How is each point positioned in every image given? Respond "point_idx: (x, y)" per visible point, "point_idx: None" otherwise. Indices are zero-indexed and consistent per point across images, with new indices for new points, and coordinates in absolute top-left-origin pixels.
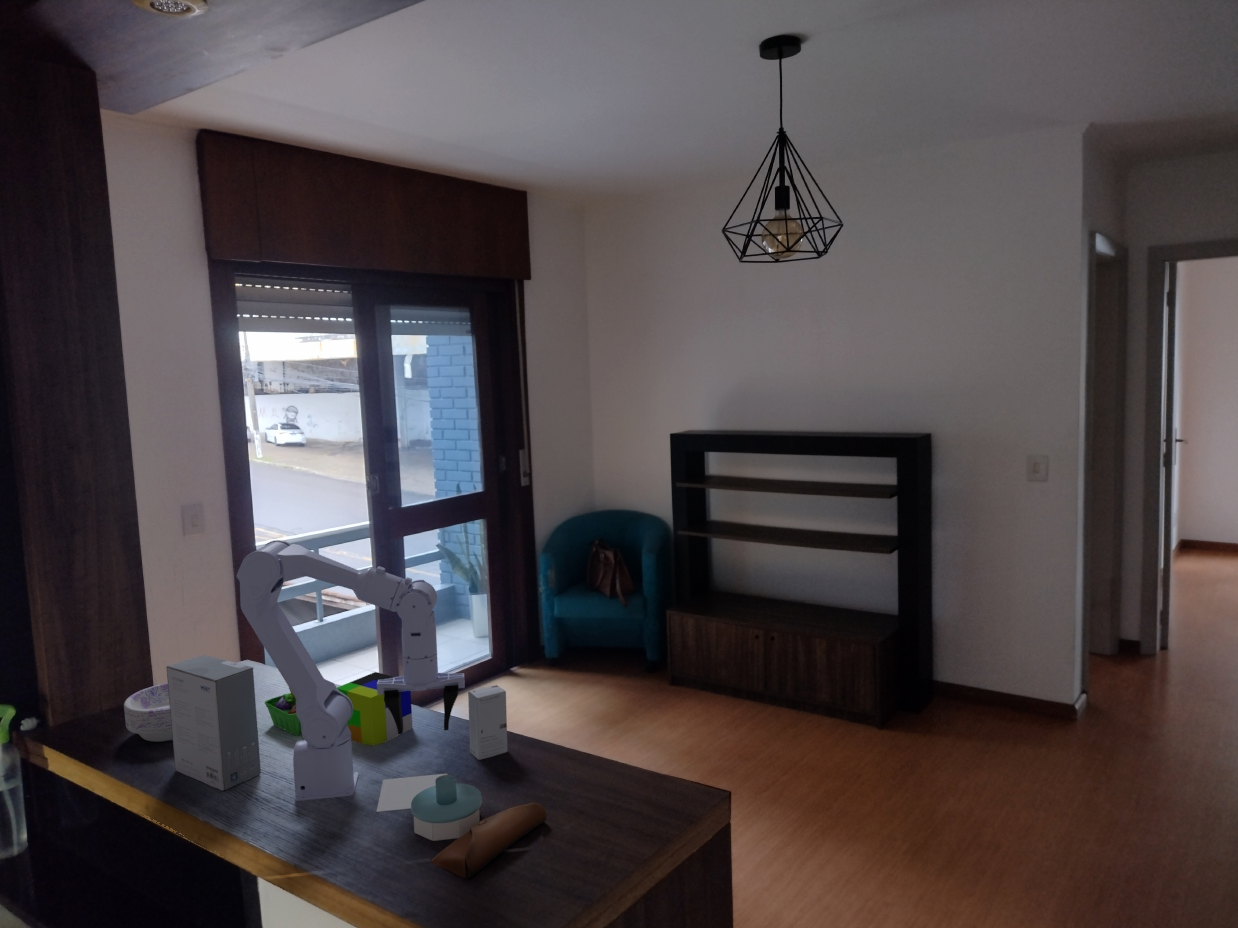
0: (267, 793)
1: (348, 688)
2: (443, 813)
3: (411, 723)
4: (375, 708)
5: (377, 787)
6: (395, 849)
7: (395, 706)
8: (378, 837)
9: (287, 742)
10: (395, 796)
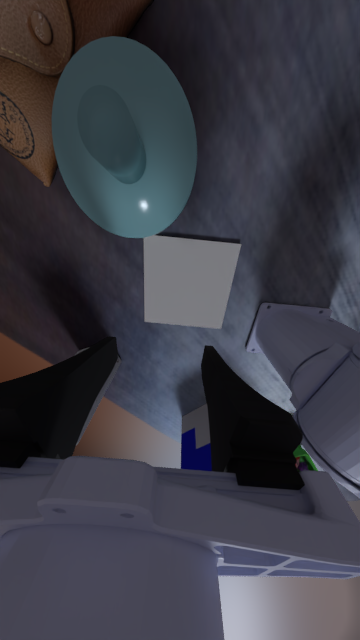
0: None
1: None
2: (127, 72)
3: (182, 421)
4: None
5: (228, 316)
6: (228, 88)
7: (241, 398)
8: (249, 157)
9: None
10: (210, 281)
